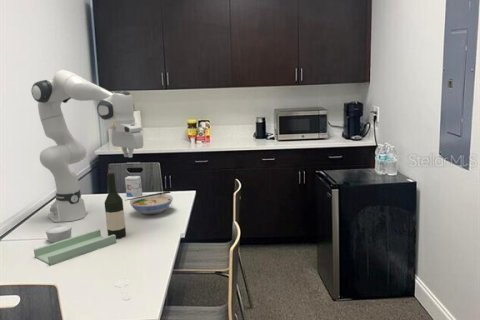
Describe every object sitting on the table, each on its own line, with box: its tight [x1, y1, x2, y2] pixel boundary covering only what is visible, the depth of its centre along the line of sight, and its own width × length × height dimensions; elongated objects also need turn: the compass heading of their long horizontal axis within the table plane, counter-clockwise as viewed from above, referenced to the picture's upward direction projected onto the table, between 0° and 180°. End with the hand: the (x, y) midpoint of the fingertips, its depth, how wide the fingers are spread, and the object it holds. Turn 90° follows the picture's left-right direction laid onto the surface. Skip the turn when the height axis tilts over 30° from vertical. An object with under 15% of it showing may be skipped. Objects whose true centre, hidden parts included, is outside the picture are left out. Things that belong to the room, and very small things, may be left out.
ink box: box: [124, 175, 143, 198], centre depth 286 cm, size 9×5×12 cm, turn 81°
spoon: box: [113, 278, 131, 301], centre depth 163 cm, size 5×18×1 cm, turn 22°
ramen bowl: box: [126, 190, 174, 216], centre depth 249 cm, size 25×23×8 cm
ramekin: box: [45, 224, 72, 244], centre depth 216 cm, size 11×11×5 cm
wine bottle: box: [104, 171, 127, 240], centre depth 214 cm, size 8×8×30 cm
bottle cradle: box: [33, 228, 117, 266], centre depth 202 cm, size 14×30×4 cm, turn 137°
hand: (128, 157), depth 217 cm, fingers closed
